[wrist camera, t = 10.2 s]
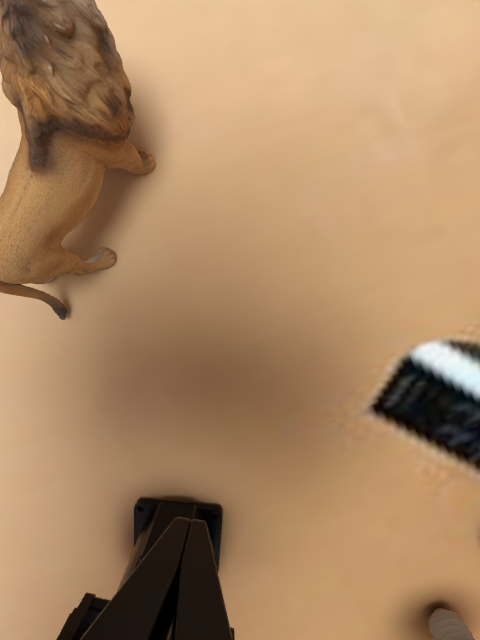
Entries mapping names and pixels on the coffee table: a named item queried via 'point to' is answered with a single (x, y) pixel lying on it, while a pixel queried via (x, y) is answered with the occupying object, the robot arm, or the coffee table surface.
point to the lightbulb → (448, 626)
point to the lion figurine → (59, 136)
